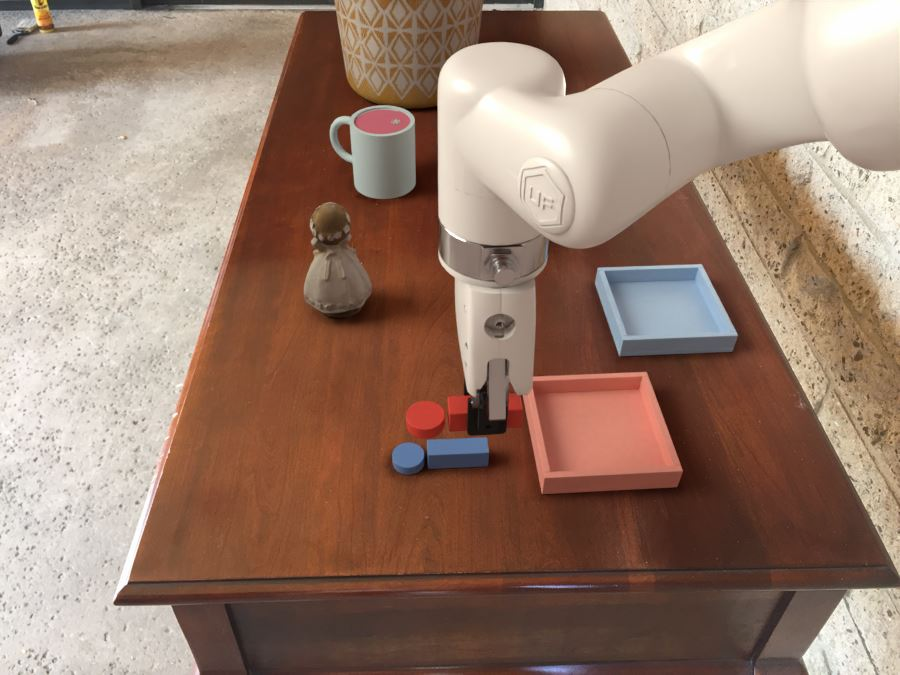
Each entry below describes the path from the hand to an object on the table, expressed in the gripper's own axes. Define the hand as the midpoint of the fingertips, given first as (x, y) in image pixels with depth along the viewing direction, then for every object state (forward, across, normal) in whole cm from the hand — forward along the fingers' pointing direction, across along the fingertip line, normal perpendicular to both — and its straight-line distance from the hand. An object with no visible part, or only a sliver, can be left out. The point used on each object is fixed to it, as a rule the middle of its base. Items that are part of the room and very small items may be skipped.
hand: (484, 418), depth 65 cm
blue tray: (+13, +27, -25) cm, 39 cm away
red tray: (+13, +8, -13) cm, 20 cm away
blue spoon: (+13, +6, +3) cm, 15 cm away
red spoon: (0, 0, +2) cm, 2 cm away
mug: (+13, +60, +10) cm, 62 cm away
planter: (+12, +92, +2) cm, 93 cm away
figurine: (+13, +30, +14) cm, 36 cm away
